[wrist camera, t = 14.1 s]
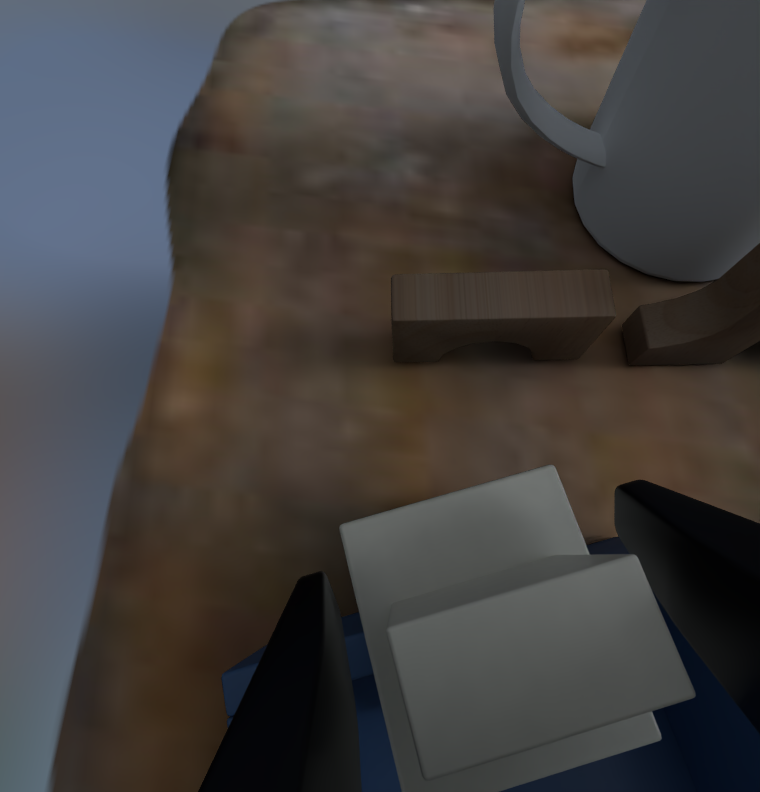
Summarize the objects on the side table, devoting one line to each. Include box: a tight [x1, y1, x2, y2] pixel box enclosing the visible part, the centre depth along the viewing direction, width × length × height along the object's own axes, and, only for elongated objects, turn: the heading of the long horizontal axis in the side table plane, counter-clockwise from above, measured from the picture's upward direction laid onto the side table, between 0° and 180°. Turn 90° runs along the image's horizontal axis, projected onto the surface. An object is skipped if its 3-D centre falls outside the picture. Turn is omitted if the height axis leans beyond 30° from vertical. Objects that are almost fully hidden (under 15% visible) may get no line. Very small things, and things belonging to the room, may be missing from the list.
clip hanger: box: [339, 465, 696, 792], centre depth 10 cm, size 5×4×8 cm
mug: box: [494, 0, 760, 282], centre depth 14 cm, size 12×8×10 cm, turn 94°
